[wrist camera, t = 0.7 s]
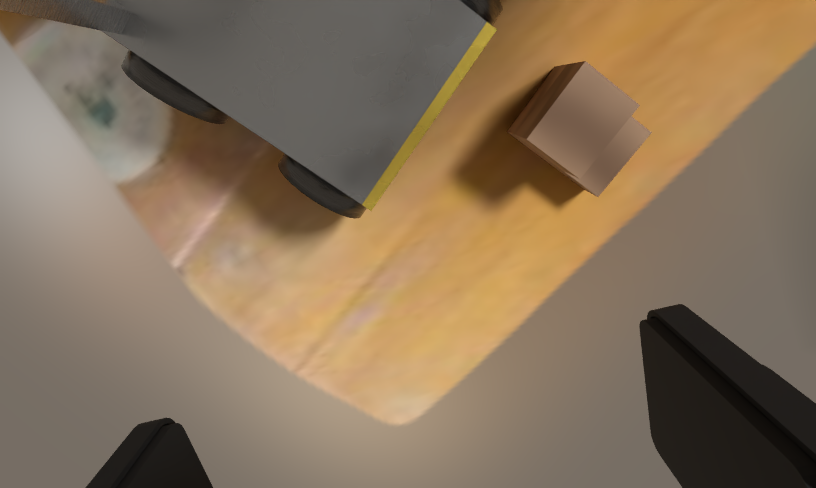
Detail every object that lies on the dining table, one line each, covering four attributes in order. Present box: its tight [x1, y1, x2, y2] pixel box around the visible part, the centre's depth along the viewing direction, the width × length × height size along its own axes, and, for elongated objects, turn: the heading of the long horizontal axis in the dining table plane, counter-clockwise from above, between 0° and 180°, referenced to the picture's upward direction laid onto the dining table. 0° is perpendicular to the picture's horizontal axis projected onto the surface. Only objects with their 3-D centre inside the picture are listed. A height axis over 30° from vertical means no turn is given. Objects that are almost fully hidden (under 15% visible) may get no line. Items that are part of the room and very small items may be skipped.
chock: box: [507, 61, 652, 197], centre depth 29 cm, size 5×7×6 cm
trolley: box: [0, 0, 503, 218], centre depth 20 cm, size 14×16×19 cm
